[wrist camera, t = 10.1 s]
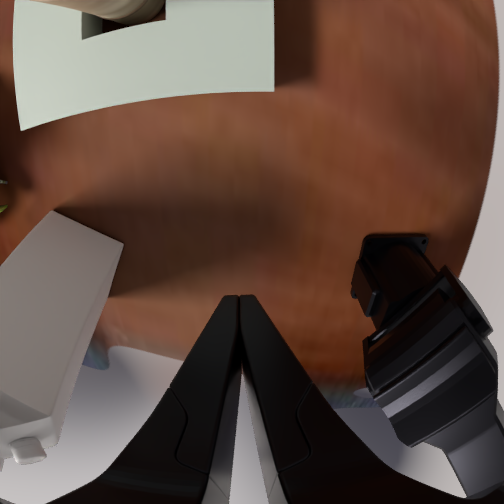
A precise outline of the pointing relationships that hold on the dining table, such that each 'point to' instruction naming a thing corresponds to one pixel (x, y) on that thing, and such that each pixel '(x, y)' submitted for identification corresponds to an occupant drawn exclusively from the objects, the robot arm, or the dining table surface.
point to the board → (137, 56)
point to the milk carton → (48, 328)
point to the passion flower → (1, 208)
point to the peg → (114, 9)
